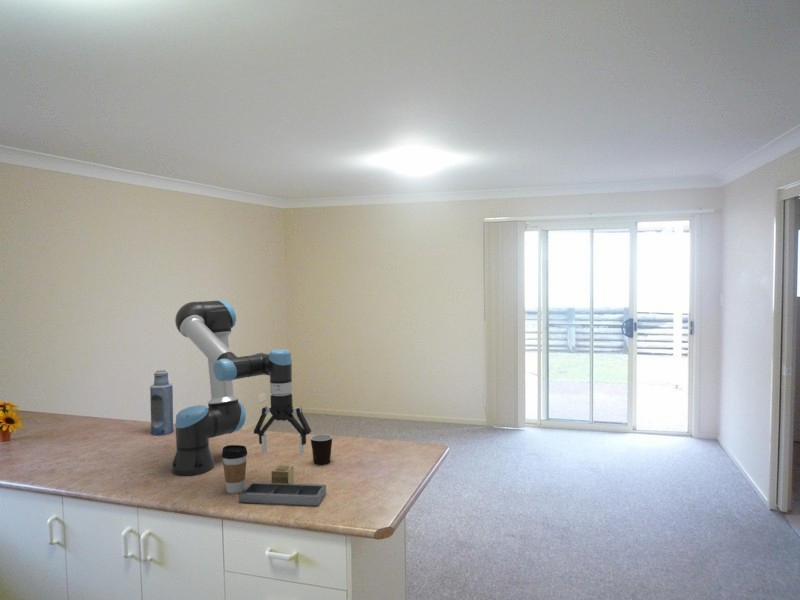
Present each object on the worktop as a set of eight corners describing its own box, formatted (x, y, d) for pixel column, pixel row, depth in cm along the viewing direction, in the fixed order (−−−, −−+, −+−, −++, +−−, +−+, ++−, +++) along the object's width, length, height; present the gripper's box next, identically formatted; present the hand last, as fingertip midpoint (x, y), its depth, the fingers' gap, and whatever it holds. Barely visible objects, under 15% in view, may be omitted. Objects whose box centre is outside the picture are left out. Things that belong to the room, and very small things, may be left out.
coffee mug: (328, 466, 205) (328, 441, 204) (307, 465, 206) (307, 440, 206) (338, 456, 216) (337, 432, 216) (318, 455, 218) (317, 431, 217)
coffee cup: (225, 485, 187) (224, 443, 186) (250, 484, 188) (249, 443, 187) (219, 495, 179) (218, 451, 178) (245, 494, 179) (244, 450, 179)
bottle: (146, 435, 248) (144, 371, 247) (159, 429, 258) (157, 368, 256) (165, 436, 246) (163, 372, 245) (177, 430, 256) (175, 368, 255)
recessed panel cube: (271, 488, 185) (271, 470, 184) (277, 481, 191) (277, 464, 190) (288, 488, 184) (288, 471, 184) (293, 482, 190) (293, 464, 190)
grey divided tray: (239, 502, 172) (239, 493, 172) (251, 490, 182) (251, 482, 182) (318, 506, 169) (318, 497, 169) (326, 493, 179) (325, 484, 179)
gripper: (243, 395, 184) (244, 456, 184) (312, 396, 181) (314, 457, 181) (251, 391, 191) (253, 449, 192) (318, 391, 188) (320, 450, 189)
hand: (283, 453), depth 187 cm, fingers open, 13 cm apart
